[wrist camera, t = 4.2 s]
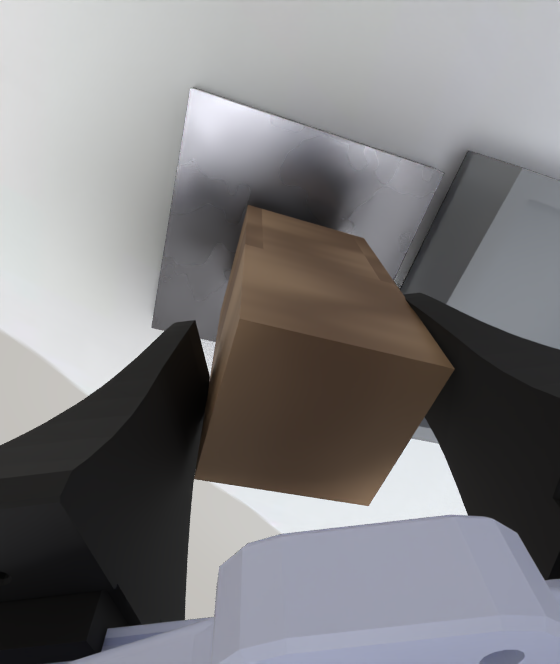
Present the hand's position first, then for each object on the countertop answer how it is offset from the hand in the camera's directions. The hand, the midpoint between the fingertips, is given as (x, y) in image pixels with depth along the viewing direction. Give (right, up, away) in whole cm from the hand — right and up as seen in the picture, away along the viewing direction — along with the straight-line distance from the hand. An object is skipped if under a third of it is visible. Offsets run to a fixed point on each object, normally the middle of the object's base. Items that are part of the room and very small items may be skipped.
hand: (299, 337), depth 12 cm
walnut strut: (0, +2, +4) cm, 4 cm away
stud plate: (0, +4, +6) cm, 8 cm away
